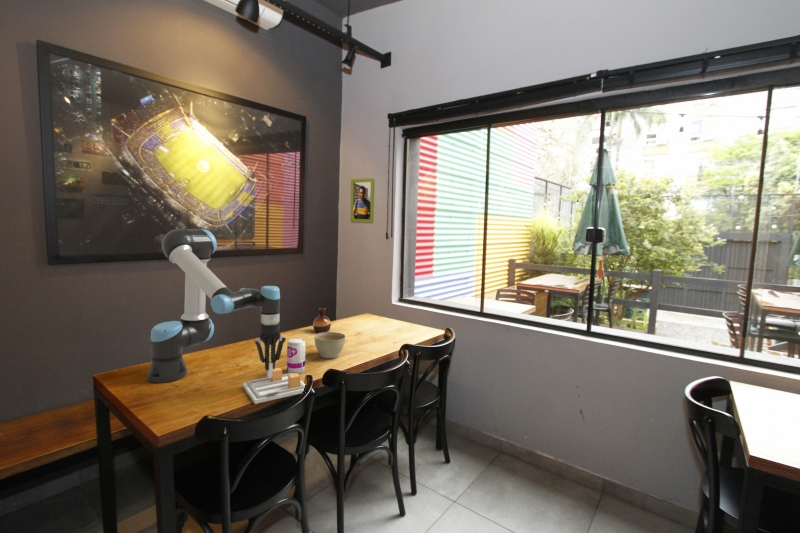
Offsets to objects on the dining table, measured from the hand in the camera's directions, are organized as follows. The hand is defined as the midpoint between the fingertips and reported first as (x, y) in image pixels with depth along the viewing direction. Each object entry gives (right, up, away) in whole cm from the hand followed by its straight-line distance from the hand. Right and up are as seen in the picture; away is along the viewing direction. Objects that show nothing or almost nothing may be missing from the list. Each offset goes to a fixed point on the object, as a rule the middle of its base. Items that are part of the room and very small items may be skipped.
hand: (269, 376), depth 165 cm
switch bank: (+3, -4, -3) cm, 6 cm away
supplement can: (+7, -3, +17) cm, 18 cm away
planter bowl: (+18, 0, +40) cm, 44 cm away
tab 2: (+11, -3, -3) cm, 12 cm away
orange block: (+2, -2, +2) cm, 3 cm away
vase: (+5, +5, +83) cm, 83 cm away
